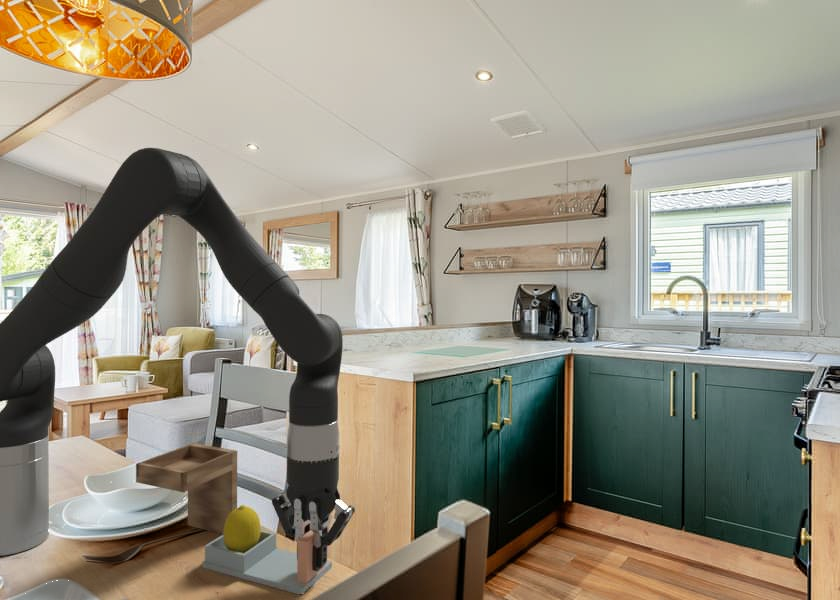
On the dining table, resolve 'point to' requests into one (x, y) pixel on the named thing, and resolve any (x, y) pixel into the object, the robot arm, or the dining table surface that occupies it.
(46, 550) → the dining table surface
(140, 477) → the shelf
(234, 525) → the lemon
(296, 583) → the grey tray holder base
